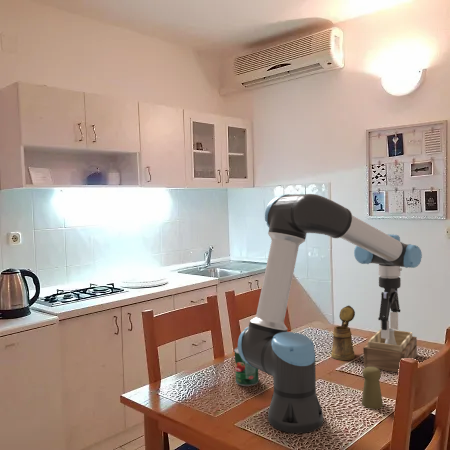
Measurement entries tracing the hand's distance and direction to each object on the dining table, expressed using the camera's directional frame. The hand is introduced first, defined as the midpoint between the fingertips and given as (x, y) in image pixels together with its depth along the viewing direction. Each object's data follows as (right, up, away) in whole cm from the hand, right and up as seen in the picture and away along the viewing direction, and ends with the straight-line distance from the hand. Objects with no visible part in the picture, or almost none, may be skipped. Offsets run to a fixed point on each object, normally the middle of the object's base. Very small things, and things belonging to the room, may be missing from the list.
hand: (389, 333), depth 171 cm
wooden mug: (-14, -11, +9) cm, 20 cm away
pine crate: (+1, -10, +1) cm, 10 cm away
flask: (+1, -9, +1) cm, 9 cm away
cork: (-17, -13, -34) cm, 40 cm away
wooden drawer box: (+1, -10, +1) cm, 10 cm away
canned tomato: (-53, -13, -13) cm, 57 cm away
